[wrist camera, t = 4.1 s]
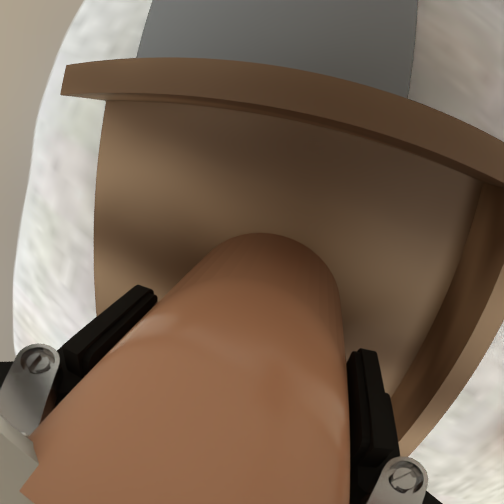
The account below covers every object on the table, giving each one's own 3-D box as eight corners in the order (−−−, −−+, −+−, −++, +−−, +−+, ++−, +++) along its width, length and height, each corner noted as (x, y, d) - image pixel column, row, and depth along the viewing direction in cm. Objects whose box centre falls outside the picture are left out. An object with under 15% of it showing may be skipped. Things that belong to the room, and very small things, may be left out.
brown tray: (118, 77, 11) (66, 65, 8) (502, 164, 9) (552, 172, 6) (108, 372, 17) (79, 406, 14) (368, 447, 15) (370, 492, 12)
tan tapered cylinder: (202, 215, 12) (-63, 400, 2) (361, 257, 11) (432, 586, 1) (181, 382, 15) (80, 548, 5) (295, 416, 15) (254, 609, 4)
